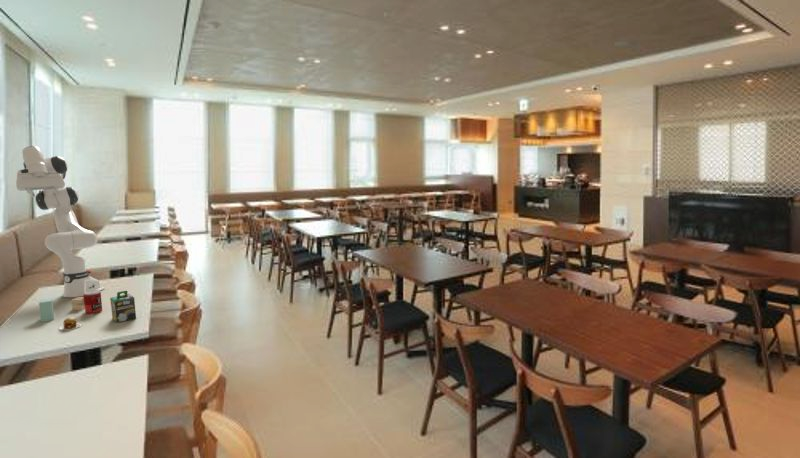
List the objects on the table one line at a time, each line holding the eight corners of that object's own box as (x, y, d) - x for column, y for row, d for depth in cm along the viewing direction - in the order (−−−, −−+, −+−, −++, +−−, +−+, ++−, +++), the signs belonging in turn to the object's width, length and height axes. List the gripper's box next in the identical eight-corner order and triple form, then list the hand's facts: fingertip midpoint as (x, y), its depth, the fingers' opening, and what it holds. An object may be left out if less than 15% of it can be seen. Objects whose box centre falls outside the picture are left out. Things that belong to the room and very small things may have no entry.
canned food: (94, 314, 242) (92, 294, 240) (81, 313, 243) (79, 293, 242) (106, 310, 249) (104, 290, 248) (93, 309, 251) (91, 289, 249)
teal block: (41, 319, 234) (39, 300, 233) (54, 317, 237) (52, 298, 236) (41, 321, 230) (39, 302, 229) (53, 319, 233) (51, 301, 232)
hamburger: (80, 322, 231) (79, 312, 230) (89, 328, 223) (88, 317, 222) (51, 329, 221) (50, 318, 221) (59, 335, 214) (58, 323, 213)
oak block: (77, 307, 253) (76, 297, 252) (87, 307, 254) (85, 296, 253) (72, 310, 248) (71, 300, 248) (82, 310, 249) (81, 299, 248)
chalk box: (131, 314, 241) (129, 287, 239) (136, 318, 235) (134, 290, 233) (111, 318, 235) (109, 291, 233) (116, 323, 228) (113, 294, 226)
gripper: (60, 175, 252) (67, 197, 249) (13, 177, 237) (19, 200, 234) (62, 169, 248) (68, 191, 245) (14, 170, 233) (20, 194, 230)
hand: (44, 195), depth 239 cm, fingers open, 8 cm apart
